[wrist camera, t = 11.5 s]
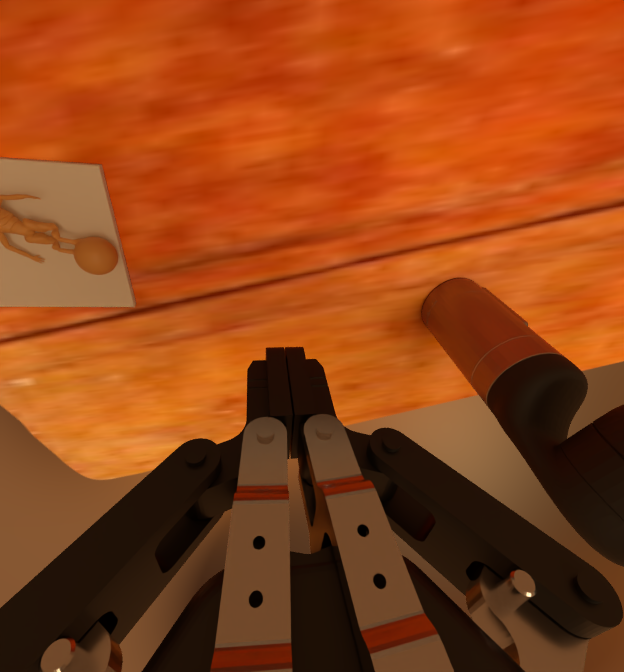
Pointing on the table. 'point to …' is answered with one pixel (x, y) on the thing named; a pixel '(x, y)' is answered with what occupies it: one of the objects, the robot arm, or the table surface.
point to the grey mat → (73, 223)
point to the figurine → (87, 253)
